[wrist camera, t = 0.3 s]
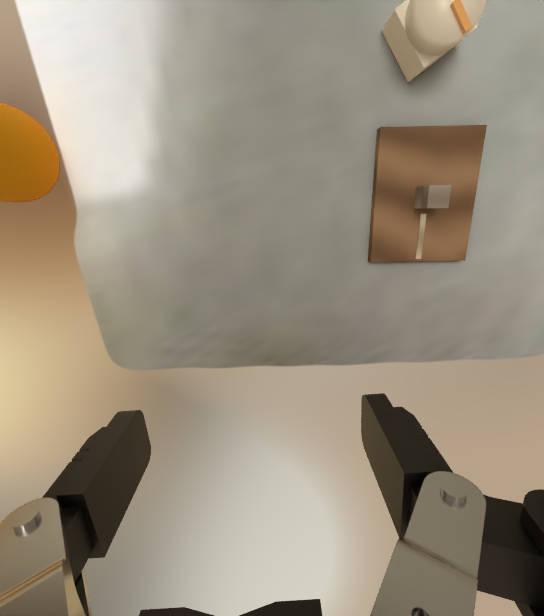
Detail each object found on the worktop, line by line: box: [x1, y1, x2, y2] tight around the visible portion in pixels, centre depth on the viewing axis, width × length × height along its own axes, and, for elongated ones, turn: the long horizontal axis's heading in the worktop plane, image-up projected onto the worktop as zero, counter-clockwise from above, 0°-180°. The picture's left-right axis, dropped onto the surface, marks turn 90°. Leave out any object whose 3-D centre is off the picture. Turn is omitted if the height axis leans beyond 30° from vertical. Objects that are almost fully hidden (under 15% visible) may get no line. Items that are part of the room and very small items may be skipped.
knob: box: [382, 0, 486, 82], centre depth 28 cm, size 6×6×6 cm
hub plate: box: [368, 125, 487, 262], centre depth 34 cm, size 14×11×4 cm
